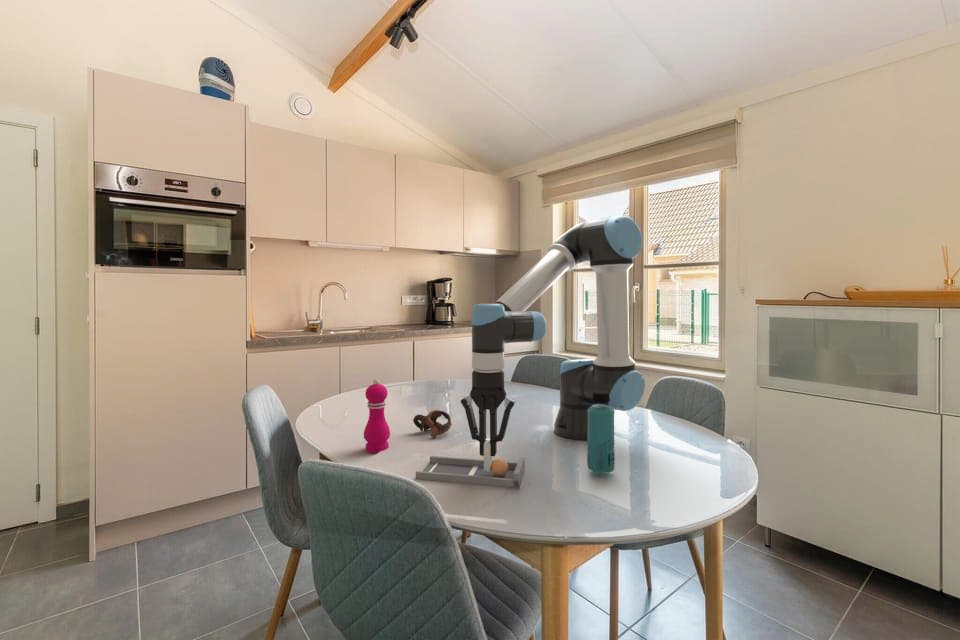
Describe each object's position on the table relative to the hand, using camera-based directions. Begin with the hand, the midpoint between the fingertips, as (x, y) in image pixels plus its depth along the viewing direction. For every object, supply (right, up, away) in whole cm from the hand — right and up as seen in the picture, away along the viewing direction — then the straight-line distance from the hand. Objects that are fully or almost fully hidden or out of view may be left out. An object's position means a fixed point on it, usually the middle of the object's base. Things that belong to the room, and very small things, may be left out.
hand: (488, 469), depth 106 cm
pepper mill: (-31, -1, +19) cm, 36 cm away
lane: (-4, -2, +1) cm, 4 cm away
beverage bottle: (+27, -2, +2) cm, 27 cm away
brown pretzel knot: (-17, -1, +34) cm, 38 cm away
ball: (+2, -1, -1) cm, 3 cm away
